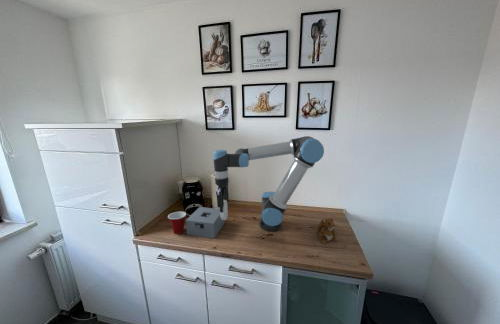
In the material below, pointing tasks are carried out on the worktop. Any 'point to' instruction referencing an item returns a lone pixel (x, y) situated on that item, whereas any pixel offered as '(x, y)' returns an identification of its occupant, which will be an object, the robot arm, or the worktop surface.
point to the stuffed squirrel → (326, 230)
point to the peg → (225, 211)
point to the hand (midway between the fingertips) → (224, 214)
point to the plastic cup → (177, 221)
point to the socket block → (204, 222)
